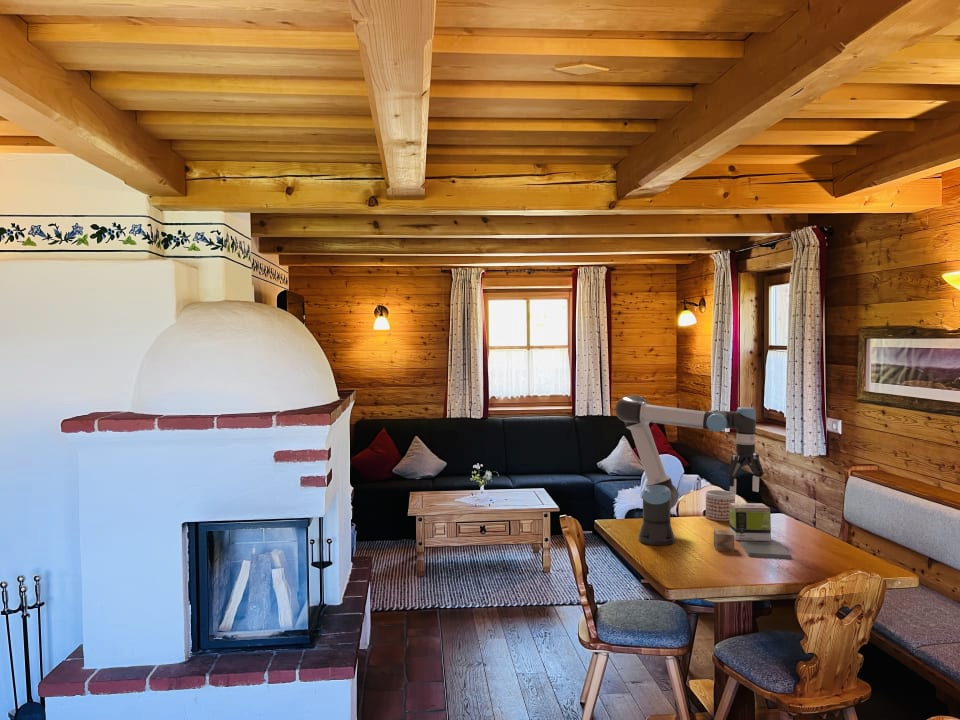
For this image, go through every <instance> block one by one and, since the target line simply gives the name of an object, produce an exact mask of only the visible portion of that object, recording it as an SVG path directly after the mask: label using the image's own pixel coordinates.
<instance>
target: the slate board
mask: <svg viewBox="0 0 960 720" xmlns="http://www.w3.org/2000/svg"><path fill="white" fill-rule="evenodd" d="M740 546H741V547H742V549H743V550H744V552H745V553H746V555H747V556H748V557H751V558H752V557H753V558H755V557H756V558H768V559H769V558H770V559H771V558H772V559H787V560H788V559H790V560H791V559H792V554H791V553H790V552H789V550H787V549H786V547H784V545H783V544H781V543H774V542H759V541H740Z"/></svg>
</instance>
